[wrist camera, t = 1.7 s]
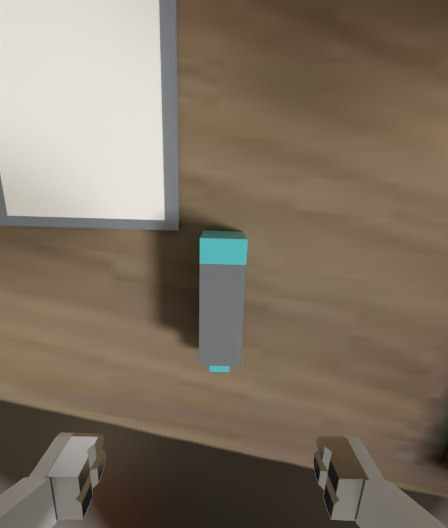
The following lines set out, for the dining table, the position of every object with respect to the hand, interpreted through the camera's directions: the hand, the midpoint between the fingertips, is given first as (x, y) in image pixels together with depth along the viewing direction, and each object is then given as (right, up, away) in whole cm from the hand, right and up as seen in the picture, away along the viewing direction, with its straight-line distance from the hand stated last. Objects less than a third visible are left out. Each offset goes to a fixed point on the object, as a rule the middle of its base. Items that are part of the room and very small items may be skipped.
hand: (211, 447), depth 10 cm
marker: (0, +4, +16) cm, 16 cm away
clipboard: (-11, +21, +11) cm, 27 cm away
